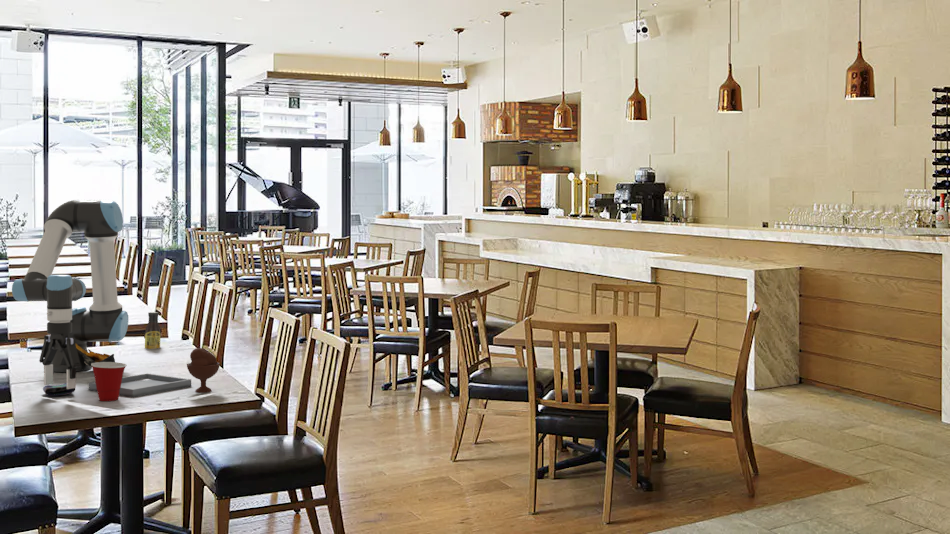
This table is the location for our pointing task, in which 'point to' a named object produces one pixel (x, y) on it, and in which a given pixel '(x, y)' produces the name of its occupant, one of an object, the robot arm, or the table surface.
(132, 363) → the table surface
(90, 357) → the fried shrimp in bowl
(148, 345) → the sauce bottle
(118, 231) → the robot arm
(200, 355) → the ice cream bowl
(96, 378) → the plastic cup
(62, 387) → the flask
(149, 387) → the tray
